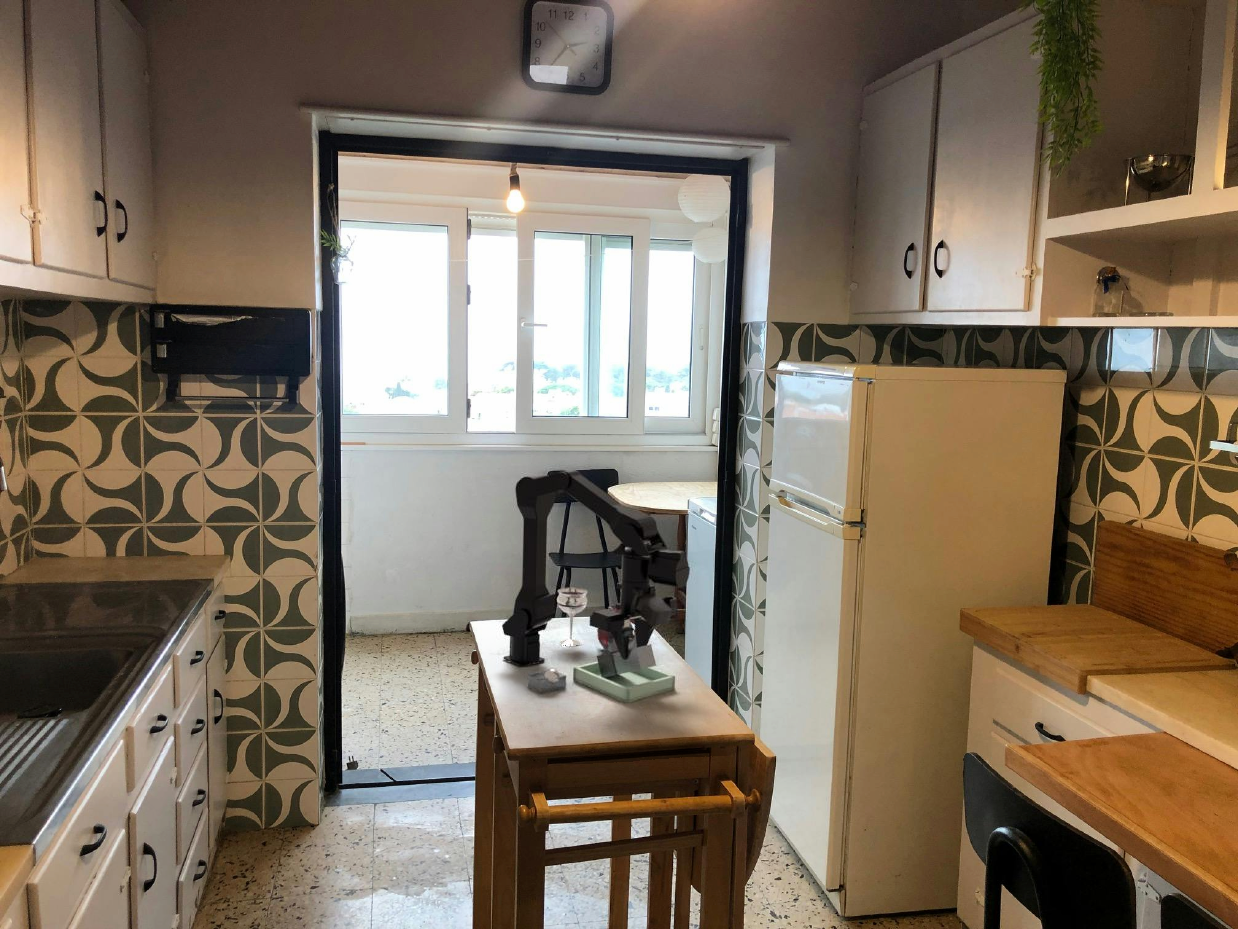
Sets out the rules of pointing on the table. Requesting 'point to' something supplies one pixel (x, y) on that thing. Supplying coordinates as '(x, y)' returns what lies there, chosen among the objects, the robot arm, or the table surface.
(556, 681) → the stud mount
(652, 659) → the strut
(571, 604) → the wineglass
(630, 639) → the brake caliper
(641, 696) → the tray
